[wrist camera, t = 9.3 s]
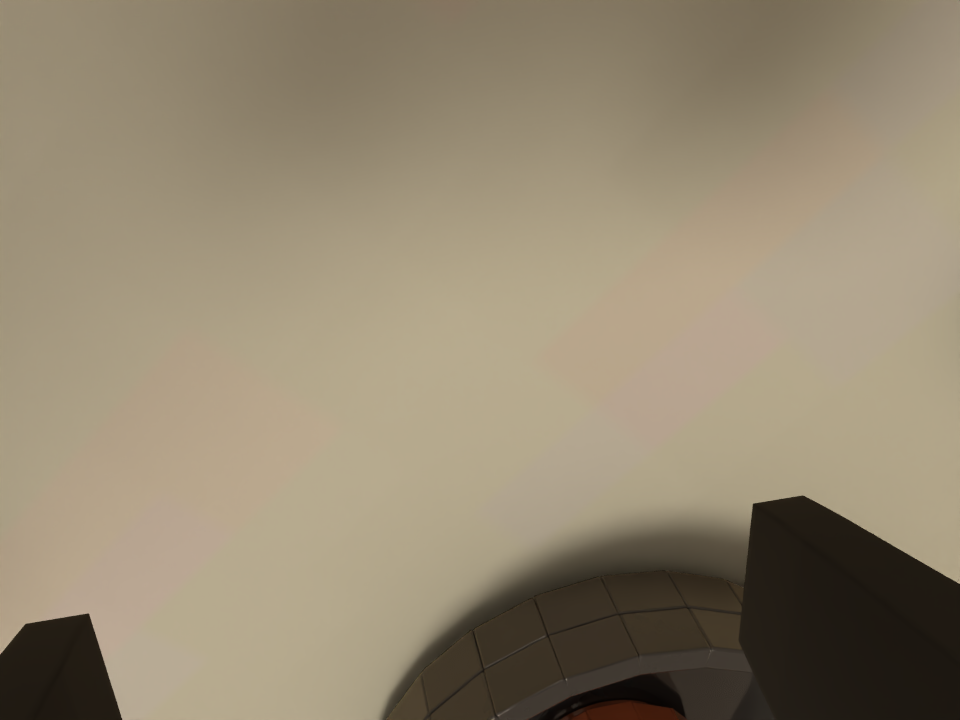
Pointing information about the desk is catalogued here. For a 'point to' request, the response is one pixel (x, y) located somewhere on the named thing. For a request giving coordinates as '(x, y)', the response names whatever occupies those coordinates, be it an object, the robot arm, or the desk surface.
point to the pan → (599, 654)
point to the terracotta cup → (624, 711)
